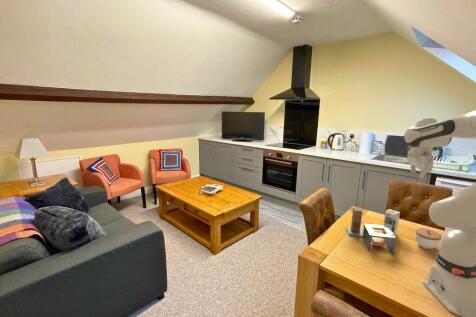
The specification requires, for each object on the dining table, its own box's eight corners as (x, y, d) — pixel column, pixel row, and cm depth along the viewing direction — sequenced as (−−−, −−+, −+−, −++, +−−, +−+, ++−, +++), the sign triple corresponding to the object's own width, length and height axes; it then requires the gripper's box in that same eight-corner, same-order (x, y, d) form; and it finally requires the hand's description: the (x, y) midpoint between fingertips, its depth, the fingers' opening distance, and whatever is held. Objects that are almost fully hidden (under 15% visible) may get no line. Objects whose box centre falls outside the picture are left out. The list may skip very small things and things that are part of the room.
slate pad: (363, 237, 136) (364, 235, 135) (348, 235, 138) (348, 233, 137) (360, 230, 143) (360, 228, 143) (346, 228, 145) (346, 227, 145)
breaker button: (384, 246, 125) (384, 243, 124) (373, 245, 126) (374, 241, 125) (381, 241, 129) (381, 238, 129) (371, 240, 130) (371, 236, 130)
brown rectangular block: (359, 233, 138) (362, 211, 134) (352, 232, 139) (354, 210, 135) (358, 230, 141) (360, 208, 138) (350, 229, 142) (353, 207, 139)
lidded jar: (429, 240, 132) (432, 225, 130) (444, 252, 121) (447, 236, 119) (409, 239, 133) (411, 224, 131) (421, 251, 123) (424, 235, 120)
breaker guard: (393, 253, 121) (396, 238, 119) (367, 250, 124) (369, 234, 122) (386, 240, 132) (388, 226, 130) (362, 238, 135) (364, 223, 133)
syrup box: (381, 233, 139) (385, 211, 136) (386, 230, 142) (389, 208, 139) (392, 238, 135) (396, 214, 131) (396, 234, 138) (400, 211, 135)
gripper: (439, 154, 112) (434, 182, 116) (419, 146, 132) (415, 170, 135) (424, 153, 114) (419, 181, 117) (406, 146, 133) (402, 170, 136)
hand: (417, 175), depth 126 cm, fingers open, 8 cm apart
